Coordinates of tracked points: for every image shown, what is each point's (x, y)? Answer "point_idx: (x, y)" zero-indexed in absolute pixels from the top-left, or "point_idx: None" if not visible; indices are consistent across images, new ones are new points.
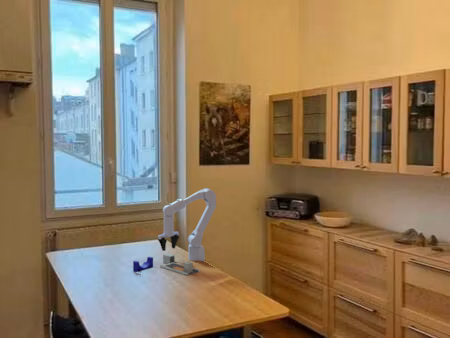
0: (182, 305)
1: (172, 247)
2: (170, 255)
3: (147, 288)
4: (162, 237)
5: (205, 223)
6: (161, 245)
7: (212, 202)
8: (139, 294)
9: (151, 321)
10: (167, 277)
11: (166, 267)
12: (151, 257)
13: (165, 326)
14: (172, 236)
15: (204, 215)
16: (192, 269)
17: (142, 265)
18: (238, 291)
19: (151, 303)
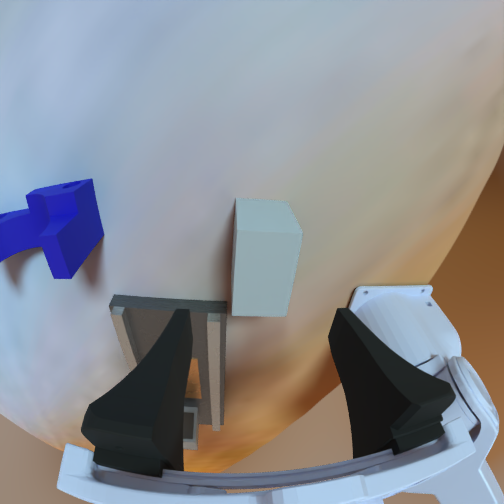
0: (71, 437)
1: (337, 319)
2: (263, 296)
3: (21, 372)
4: (138, 481)
5: None
6: (158, 354)
7: None
8: (4, 375)
9: (21, 421)
10: (99, 373)
11: (124, 354)
12: (61, 268)
13: (35, 433)
14: (386, 435)
15: None
16: (198, 425)
17: (38, 202)
18: (197, 466)
19: (24, 406)
